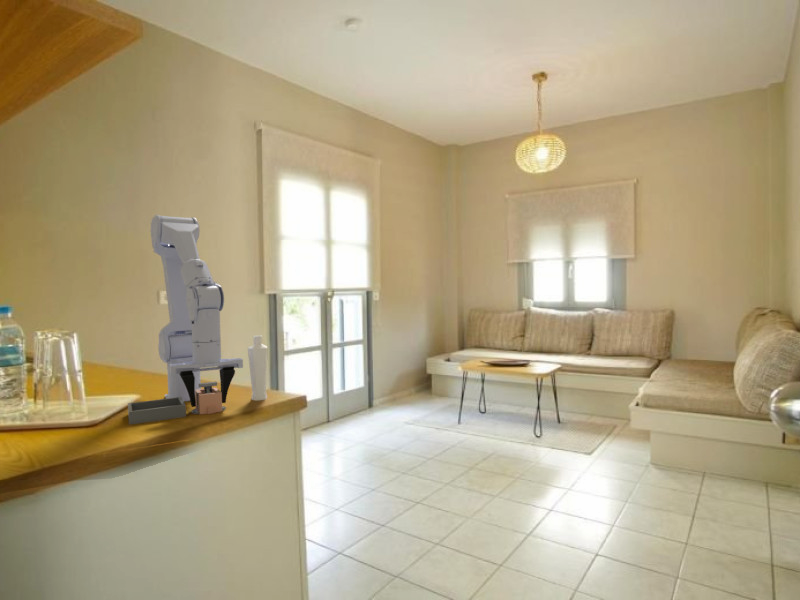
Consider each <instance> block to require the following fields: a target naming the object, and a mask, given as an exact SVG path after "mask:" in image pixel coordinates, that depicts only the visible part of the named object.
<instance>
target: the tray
mask: <svg viewBox="0 0 800 600" xmlns="http://www.w3.org/2000/svg"><path fill="white" fill-rule="evenodd" d="M186 406H187V405H186V403H185V402H184V401H183V400H182V398H181V397H176V398H168V399H166V398H161V399H154V400H152V399H151V400H145V401H136V402H128V403H127V414H128V415H127V416H128V425H136V424H142V423H143V424H144V423H150V422H151V423H153V422H157V421H158V422H159V421H164V420H172V419H177V418H179V419H181V418H186V416H187V408H186Z"/></svg>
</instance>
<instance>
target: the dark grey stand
mask: <svg viewBox="0 0 800 600" xmlns="http://www.w3.org/2000/svg"><path fill="white" fill-rule="evenodd" d="M215 386H216V387H218V381H210V382H201V383H199V388H201V389H202V388H203V389H204V394H208V393H212V388H213V387H215ZM225 410H227V407H226V406H224V405H222V411H221V412H224V411H225ZM190 412H191V413H192V414H195V415H200V414H199V412H198V411H197V409H196V408H194V409H191V411H190ZM216 413H217V412H215V413H214V414H216ZM206 415H209V414H208V413H207V414H206Z"/></svg>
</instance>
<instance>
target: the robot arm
mask: <svg viewBox="0 0 800 600" xmlns="http://www.w3.org/2000/svg"><path fill="white" fill-rule="evenodd" d="M200 232H201V231H200V224H199V221H198V220H197V218H196V217H182V216H181V217H180V216H179V217H178V216H167V215H159V214H155V215H153V217H152V219H151V222H150V237H151V238H150V239H151V245H152V249H153V252H154V253H155V254H157V255H158V256H160V258H161V264H162V267H163V276H164V284H165V292H166V301H167V308H168V316H169V322H168V323H167V324H165V326H163V327H162V328H161V329H160V331H159V332H158V355H159V358H160V360H162V362H163V363H165V364H166V366H167V367H166V368H167V392H168V393H167V394H166V393H165V394H164V399H168V398H176V397H181V398H182V400H183V401H184V403H185V402H190V406H191V408H196V400H195V390H198V389H202V387H201V388H199V383H202V382H201V381H202V380H201V372H205V371H216V370H217V371H218V370H219V377H220V378H219V379H220V380H219V381H220V392H221V393H222V404H225V403H226V402H227V395H228V391H229V387H230V385H231V383H232V380H233V378H234V376H235V374H236V370H235V369H237V368H238V369H241V368H242V369H243V368H244V359H243V358H242V357H237V358H222V347H221V345H222V344H221V342H222V340H221V315H220V314H221V312H222V310H223V309H224V305H225V295H224V294H225V293H224V291H223V287H222V285H220V284H218V282H217V281H214V279H213V277H212V274H211V271H210V269H209V266H208V264H207V262H206V261H204V260H202V259H200V254H199V250H198V247H197V244H198V239H199V238H200Z"/></svg>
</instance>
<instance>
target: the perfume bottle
mask: <svg viewBox="0 0 800 600" xmlns="http://www.w3.org/2000/svg"><path fill="white" fill-rule="evenodd" d="M252 337H253V344H252V345H250V346H248V347H247V354H248V364H249V374H250V383H251V392H252V393H251V398H250V399H251V400H252V401H254V402H255V401H256V402H257V401H265V400H267V399H268V397H269V396H268V394H267V375H268V374H267V372H268V350H269V349H268V348H269V347H268V346H267V345H266V344H263V335H253V336H252Z"/></svg>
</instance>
